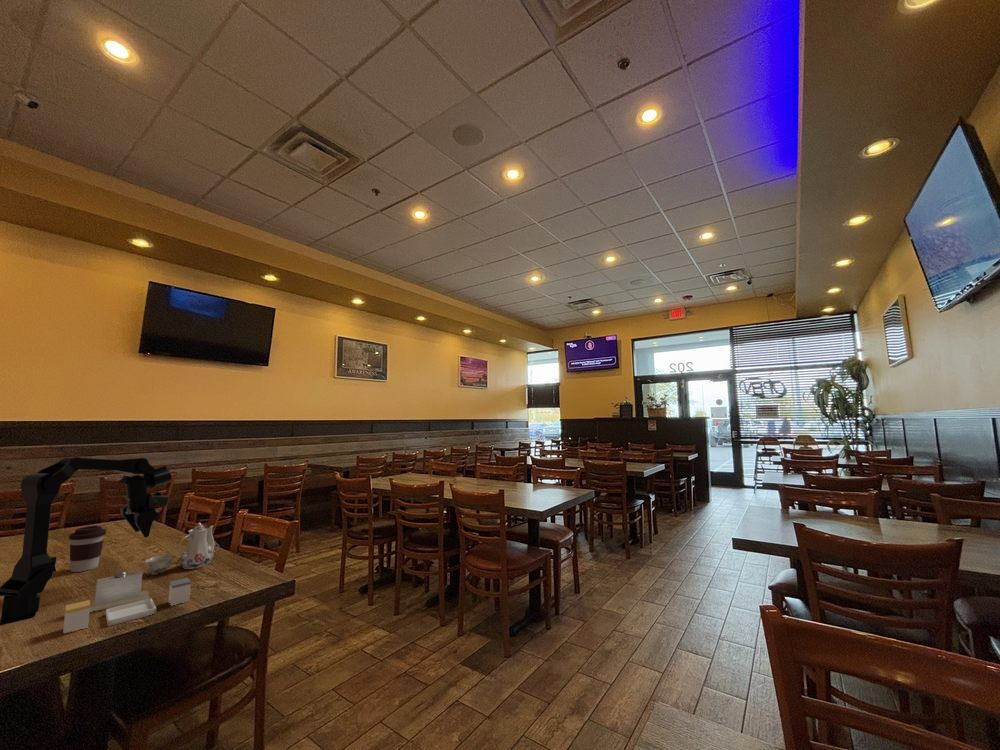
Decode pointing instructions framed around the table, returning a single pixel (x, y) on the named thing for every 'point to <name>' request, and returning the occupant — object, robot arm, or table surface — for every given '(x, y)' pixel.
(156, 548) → the table surface
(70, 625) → the amber cartridge
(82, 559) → the coffee cup
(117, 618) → the tray
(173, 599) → the grey cartridge
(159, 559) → the chinaware
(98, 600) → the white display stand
